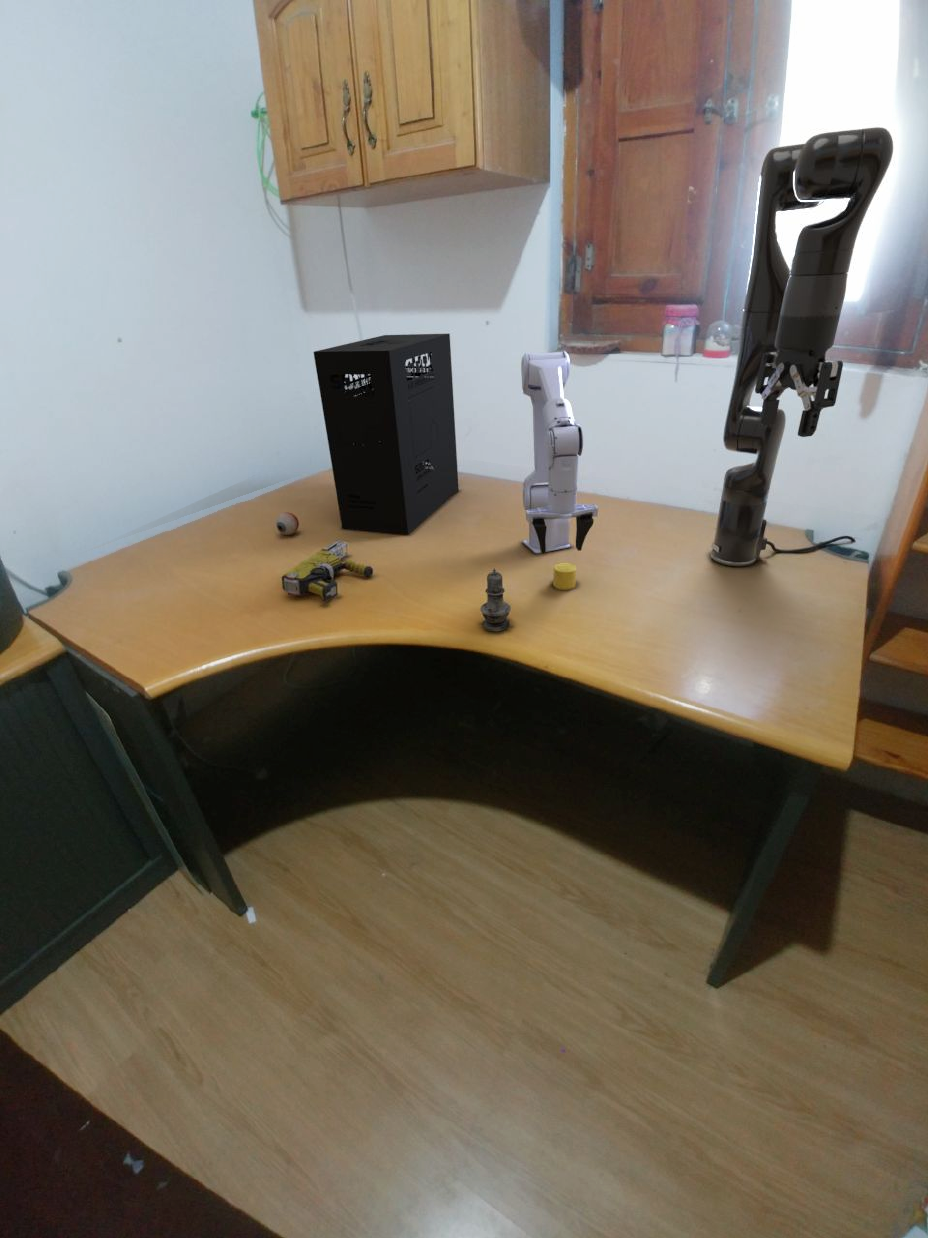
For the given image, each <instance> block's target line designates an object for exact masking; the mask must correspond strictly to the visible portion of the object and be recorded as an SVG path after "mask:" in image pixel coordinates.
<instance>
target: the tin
mask: <svg viewBox="0 0 928 1238" xmlns="http://www.w3.org/2000/svg"><path fill="white" fill-rule="evenodd" d="M576 579H577V567H576V565H575V564H573V563H570V562H560V563H557V564H555V565H553V581H552V582H553V587H554V588H556V589H558V590H563V591H565V590H566V591H567V590H572V589H573V588H575V587H576Z"/></svg>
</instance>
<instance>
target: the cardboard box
mask: <svg viewBox="0 0 928 1238" xmlns="http://www.w3.org/2000/svg"><path fill="white" fill-rule="evenodd" d="M426 355H427V356H426ZM313 357H314V358H313V359H314V365H315V370H316V376H317V382H318V389H319V394H320V402H321V406H322V413H323V419H324V427H325V433H326V438H327V444H328V451H329V456H330V457H329V458H330V463H331V469H332V476H333V483H334V487H335V493H336V494H335V495H336V499H337V505H338V512H339V517H340V519H339V520H340V523H341V524H340V525H341V529H346V530H347V529H348V530H358V531H369V532H376V533H377V532H379V533H388V534H398V535H410V534H411V533H412V532H413V531H414V530H415V529H416V528H418V526H420V525H421V524H422V523H424V521H425V520H427V519H428V518H429V517H430V516H431V515H432V514H434V513H435V512H436V511H437V510H438V509H440V507H441V506H442V505H444V504H445V503H446V502H447V501H448V500H450V499H451V498H452V497H453V496H454V495H455V494H456V493H458V491H459V490H460V489H459V488H460V487H459V471H458V455H457V454H458V453H457V438H456V437H457V436H456V421H455V418H456V417H455V404H454V403H455V401H454V384H453V383H454V382H453V369H452V367H453V366H452V349H451V334H450V333H415V334H414V333H411V334H383V335H379V336H375V337H371V338H367V339H361V340H357V341H354V342H349V343H345V344H341V345H337V346H332V347H327V348H323V349H319V350H315V351H313ZM416 357H417V360H416ZM407 361H408V362H407ZM428 361H429V364H428ZM406 364H407V365H406ZM423 364H424V365H423ZM427 364H428V365H427ZM355 375H356V376H357V378H356V377H355ZM346 376H347V377H346ZM362 376H363V377H362ZM351 379H352V380H351Z"/></svg>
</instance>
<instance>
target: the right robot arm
mask: <svg viewBox="0 0 928 1238" xmlns="http://www.w3.org/2000/svg"><path fill="white" fill-rule="evenodd" d="M893 153H894V140H893V137H892V135H891V133H890V131H889V130H888V129H887V128H885V127H879V126H878V127H877V126H876V127H866V128H860V129H859V128H858V129H848V130H847V129H846V130H839V131H830V132H822V133H818V134H815V135H813V136H811V137H810V138H809V139H808V140H806V142H805V143H797V144H792V145H785V146H784V145H783V146H778V147H773V148H771V149H769V151H768V152H767V154H766V155H765V157H764V160H763V162H762V166H761V170H760V175H759V182H758V191H757V200H756V211H755V222H754V223H755V224H754V231H753V232H754V234H753V244H752V255H751V262H750V268H749V269H750V270H749V275H748V281H747V288H746V293H745V299H744V305H743V311H742V317H741V324H740V333H739V342H738V351H737V357H736V367H735V373H734V378H733V384H732V390H731V394H730V399H729V402H728V407H727V412H726V417H725V421H724V426H723V427H724V428H723V437H722V440H723V446H724V448H725V450H727V451H730V452H735V453H743V454H750V455H756V459H755V460H754V461H753V462H751V463H747V464H742V465H738V466H737V465H736V466H733V467H731V468H729V469H727V470H726V472H725V473H724V477H723V484H722V490H721V496H720V500H719V501H720V502H719V507H718V514H717V519H716V524H715V531H714V537H713V542H711V545H710V546H711V552H710V558H711V559H712V560H713V561H714V562H716V563H718V564H721V565H724V566H729V567H746V566H751V565H753V564H754V563H755V562H757V561H760V556H761V553H762V552H761V551H765V550H766V547H767V545H769V546H770V547H771V549H772V551H773V552H776V553H780V554H797V553H802V552H803V553H804V552H809V551H812V550H816V549H817V548H820V547H822V546H826V545H829V544H832V543H835V542H837V541H841V540H849V541H850V542H856V539H855V538H854V537H853V536H851V535H841V536H837V537H835V538H831V539H829V540H825V541H821V542H819V543H817V544H815V545H811V546H809V547H803V548H798V549H797V548H796V549H785V550H784V549H779V548H777V547H776V546H775V544H774V543H773V542H771V541H769V540H768V538H767V537H765V533H766V528H767V522H768V521H767V519H765V513H766V508H767V505H768V504H767V503H768V499H769V494H770V489H771V484H772V480H773V475H774V473H775V468H776V464H777V460H778V454H779V452H780V451H779V450H780V447H781V445H782V444H781V443H782V441H783V436H784V433H785V429H786V424H787V423H786V421H787V418H786V413H785V411H784V410H783V408H779V405H780V399H779V398H780V397H781V396H782V394H783V393H784V392H785V390H788V389H791V390H793V391H795V392H796V394H797V396H798V397H799V398H800V399H801V401H802V405H803V410H802V412H801V417H800V420H799V424H798V425H799V426H798V430H797V436H798V437H801V438H807V437H812V436H813V435H814V434H815V433H816V431H817V429H818V428H817V427H818V424H819V421H820V415H821V412H822V410H823V409H826V408H833V407H834V406H835V405H836V403H837V397H838V393H839V387H840V382H841V377H842V372H843V367H844V363H843V361H842V360H833V361H826V360H827V359H826V353H827V351H828V350H829V349H831V348H832V347H833V346H834V344H835V339H836V335H837V331H838V327H839V322H840V317H841V313H842V309H843V306H844V300H845V298H846V297H845V296H846V292H847V281H848V276H849V275H848V273H849V270H850V267H851V263H852V262H851V261H852V257H853V253H854V249H855V245H856V241H857V238H858V235H859V231H860V229H861V226H862V223H863V222H864V219H865V216H866V214H867V212H868V209H869V208H870V205H871V203H872V201H873V199H874V197H875V196H876V193H877V191H878V189H879V187H880V186H881V184H882V182H883V179H884V178H885V175H886V173H887V172H888V169H889V167H890V165H891V162H892V158H893V155H894V154H893ZM841 199H842V200H845V199H846V202H845V204H844V206H843V208H842V209H841V211H840V212H839V213H837V215H835V216H833V217H831V218H828V219H825V220H822V221H818V222H817V221H816V222H814V223H811V224H807V225H806V226H804V227H802V229H800V231H798V234H797V236H796V237H797V238H796V241H795V245H794V250H793V256H792V262H791V267H789V265H788V263H787V262H786V259H785V257H784V254H783V252H782V249H781V245H780V242H779V239H778V234H777V224H776V223H777V222H776V218H777V214H778V213H787V212H790V213H791V212H798V211H806V210H810V209H813V208H816V207H818V206H821V205H822V204H823V203H825V202H826V201H831V200H832V201H833V200H841ZM766 379H767V382H766V384H765V381H766ZM827 390H828V391H827ZM753 392H755V394H757V395H758V394H759V395H761V399H762V400H763V401H762V406H756V405H750V404H751V399H752V395H753ZM826 392H827V396H826ZM812 397H813V399H812Z"/></svg>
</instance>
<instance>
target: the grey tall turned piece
mask: <svg viewBox="0 0 928 1238" xmlns="http://www.w3.org/2000/svg"><path fill="white" fill-rule="evenodd" d="M505 590H506V589H505V588H503V574H501V573H500V572H498V571H497V569H496V568H493V569H492V572H490V573H488V574H487V576H486V589H485V590H484V591H485V593H486V598H487V601H486V602H485V603H483V604H482V605H481V606H480V609H479V610H480V612H481V615H482V616H483V619H484V620H483V621H482V627H483V628H484V629H485V630H486V631H491V632H501V631H504V630H506V629H508V628H509V627H510V621H509V620H508V619H507V618H508V617H509V615H510V612H511V610H512V607H511V605H510V604H509V603H508V602H505V601H504V593H505V592H506V591H505Z"/></svg>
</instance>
